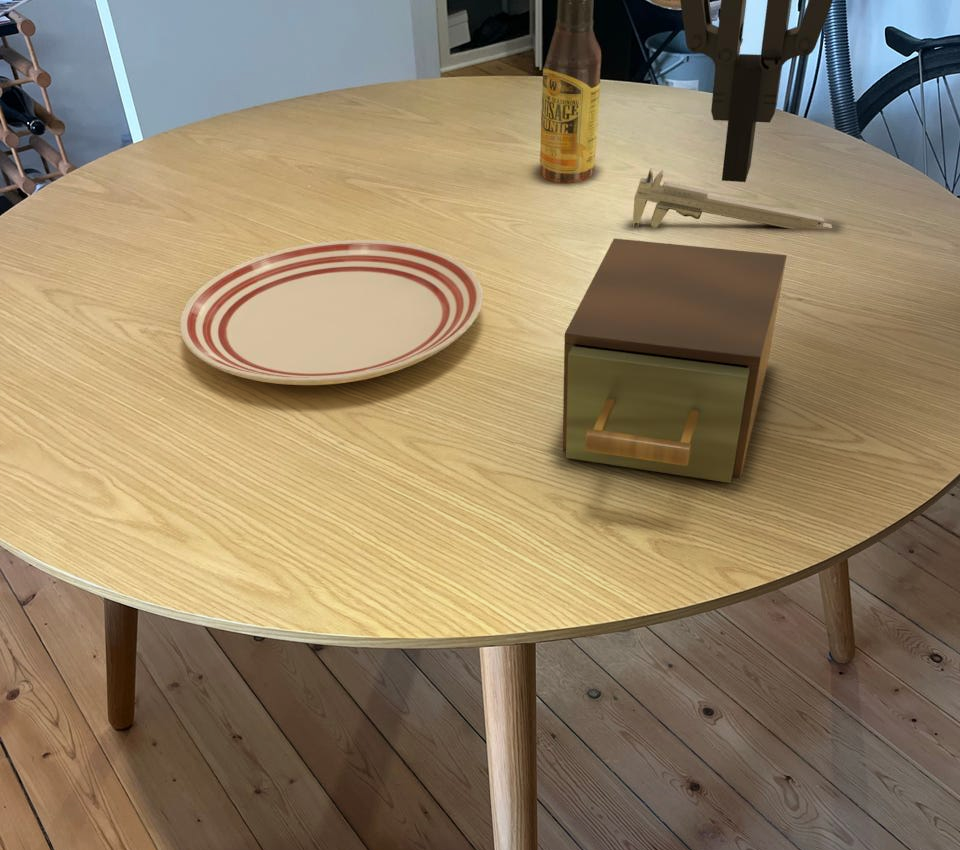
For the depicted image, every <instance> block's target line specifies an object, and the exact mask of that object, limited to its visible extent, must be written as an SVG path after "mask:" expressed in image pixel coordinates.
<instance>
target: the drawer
mask: <svg viewBox="0 0 960 850" xmlns="http://www.w3.org/2000/svg"><path fill="white" fill-rule="evenodd" d="M749 371H750V368H747V366H745V365H737V364H729V363H721V362H713V361H705V360H697V359H689V358H681V357H673V356H665V355H657V354H649V353H641V352H633V351H625V350H617V349H609V348H601V347H593V346H586V348H584V347H576V346H572V348H571V350H570V352H569V354H568V392H567V438H566V452H565V458H566V459H571V460H577V461H578V460H579V461H585V462H590V463H599V464H605V465H610V466H617V467H623V468H629V469H638V470H643V471H650V472H656V473H657V472H658V473H664V474H669V475H675V476H683V477H688V478H689V477H690V478H695V479H702V480H708V481H714V482H715V481H716V482H721V483H728V484H731V482H732V478H733V477H732V474H733V468H734V462H735V456H736V450H737V444H738V438H739V432H740V426H741V419H742V413H743V407H744V401H745V395H746V389H747V383H748V377H749Z"/></svg>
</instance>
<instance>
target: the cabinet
mask: <svg viewBox="0 0 960 850" xmlns="http://www.w3.org/2000/svg"><path fill="white" fill-rule="evenodd" d="M611 241H612V242H611V243H610V245H609V246H608V250H607V251H606V253H605V255H604V257H603V259H602V261H601V263H600V264H599V266H598V268H597V271H596V272H595V274H594V276H593V277H592V280H591V282H590V284H589V286H588V288H587V290H586V291H585V294H584V295H583V297H582V299H581V301H580V303H579V305H578V307H577V309H576V310H575V312H574V315H573V317H572V319H571V320H570V322H569V323H568V326H567V328H566V329H565V332H564V341H563V342H564V346H563V347H564V348H563V351H564V352H563V401H562V402H563V403H562V405H563V406H562V409H563V410H562V452H563V453H566V438H567V392H568V354H569V352H570V350H571V348H572V346H576V347H584V348H586V346H593V347H601V348H609V349H617V350H625V351H633V352H641V353H649V354H657V355H665V356H673V357H681V358H689V359H697V360H705V361H713V362H721V363H729V364H737V365H745V366H747V368H750V371H749V377H748V383H747V389H746V395H745V401H744V407H743V413H742V419H741V426H740V432H739V438H738V444H737V450H736V456H735V462H734V468H733V474H732V478H734V479H741V477H742V473H743V470H744V465H745V460H746V457H747V452H748V448H749V444H750V439H751V435H752V431H753V427H754V424H755V420H756V415H757V411H758V407H759V403H760V399H761V394H762V391H763V386H764V381H765V378H766V374H767V370H768V369H767V368H768V364H769V359H770V358H769V357H770V353H771V346H772V342H773V335H774V329H775V323H776V319H777V312H778V308H779V303H780V297H781V296H780V295H781V291H782V284H783V279H784V274H785V268H786V263H787V257H788V256H787V255H786V254H780V253H779V254H778V253H769V252H768V253H767V252H759V251H757V252H756V251H748V250H737V249H727V248H717V247H707V246H695V245H687V244H676V243H666V242H655V241H644V240H634V239H623V238H616V237H615V238H613V240H611Z"/></svg>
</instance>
